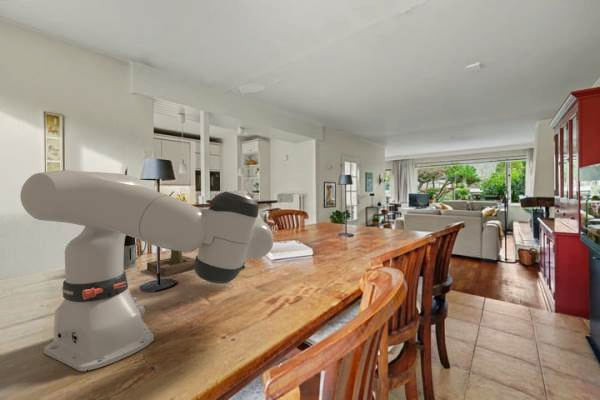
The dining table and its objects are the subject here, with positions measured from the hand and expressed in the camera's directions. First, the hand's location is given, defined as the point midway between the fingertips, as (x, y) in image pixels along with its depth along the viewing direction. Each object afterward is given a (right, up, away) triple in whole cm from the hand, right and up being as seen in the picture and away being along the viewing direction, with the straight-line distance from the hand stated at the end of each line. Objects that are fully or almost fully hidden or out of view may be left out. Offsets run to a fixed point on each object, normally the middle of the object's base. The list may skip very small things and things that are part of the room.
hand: (199, 219), depth 115 cm
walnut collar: (-12, -22, +3) cm, 25 cm away
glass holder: (-32, -22, +5) cm, 39 cm away
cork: (-12, -22, +4) cm, 25 cm away
